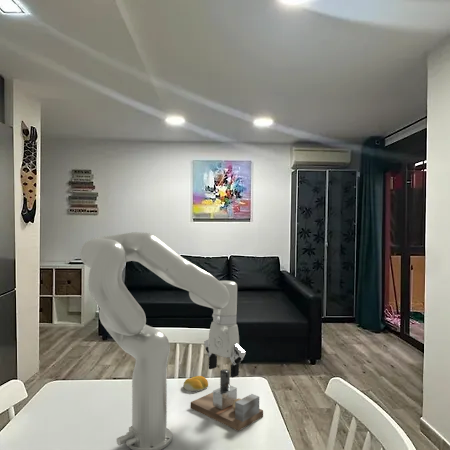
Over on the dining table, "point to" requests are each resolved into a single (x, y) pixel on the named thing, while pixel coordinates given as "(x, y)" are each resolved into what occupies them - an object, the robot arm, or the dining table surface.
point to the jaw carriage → (224, 391)
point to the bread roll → (196, 383)
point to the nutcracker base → (230, 411)
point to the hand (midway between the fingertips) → (223, 372)
